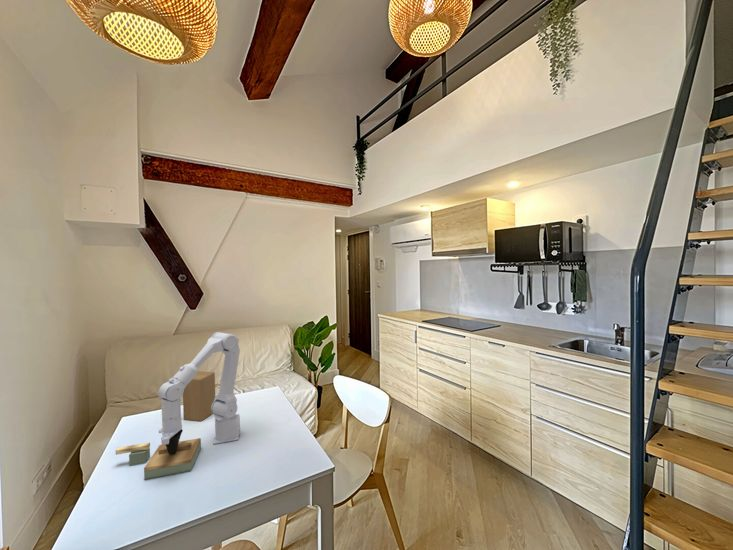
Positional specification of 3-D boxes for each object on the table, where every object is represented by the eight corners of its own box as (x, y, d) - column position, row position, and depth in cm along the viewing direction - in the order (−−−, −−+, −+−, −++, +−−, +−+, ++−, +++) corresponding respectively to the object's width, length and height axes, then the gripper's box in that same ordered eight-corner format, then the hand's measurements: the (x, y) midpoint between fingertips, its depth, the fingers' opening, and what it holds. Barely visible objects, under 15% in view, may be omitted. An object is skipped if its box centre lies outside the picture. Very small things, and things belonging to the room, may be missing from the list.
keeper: (150, 456, 113) (149, 446, 113) (145, 462, 109) (145, 452, 109) (134, 459, 111) (134, 448, 111) (129, 465, 107) (129, 455, 107)
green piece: (201, 448, 117) (200, 440, 117) (191, 471, 104) (190, 462, 104) (160, 455, 113) (159, 447, 113) (144, 480, 100) (144, 471, 100)
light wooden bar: (150, 446, 112) (150, 442, 112) (147, 449, 110) (147, 445, 110) (118, 451, 109) (118, 447, 109) (115, 454, 107) (115, 450, 107)
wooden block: (199, 410, 150) (197, 370, 150) (216, 411, 148) (215, 371, 148) (183, 420, 140) (181, 378, 140) (201, 421, 138) (200, 379, 138)
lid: (200, 440, 117) (200, 434, 117) (190, 462, 104) (190, 455, 104) (159, 447, 113) (159, 440, 113) (144, 471, 100) (143, 463, 100)
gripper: (166, 408, 112) (167, 444, 113) (150, 428, 98) (151, 468, 99) (187, 405, 114) (188, 440, 115) (174, 424, 100) (176, 464, 101)
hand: (172, 453), depth 107 cm, fingers closed
